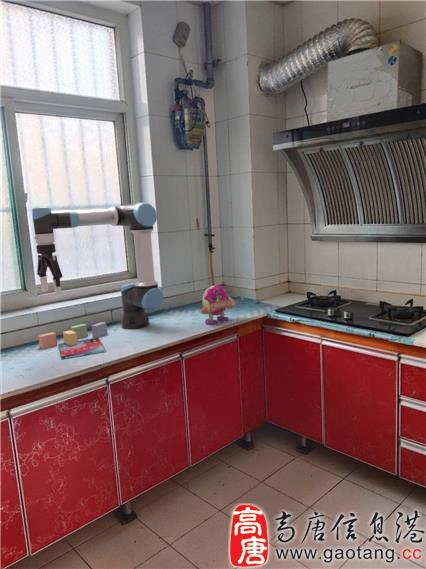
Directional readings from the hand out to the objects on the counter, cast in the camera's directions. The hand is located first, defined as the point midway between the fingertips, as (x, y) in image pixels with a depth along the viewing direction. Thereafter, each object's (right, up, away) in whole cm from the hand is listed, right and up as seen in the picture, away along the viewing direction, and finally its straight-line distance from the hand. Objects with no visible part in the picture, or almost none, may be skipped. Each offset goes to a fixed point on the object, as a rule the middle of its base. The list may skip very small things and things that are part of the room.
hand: (51, 292), depth 190 cm
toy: (+73, -17, +44) cm, 87 cm away
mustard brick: (+2, -25, +19) cm, 32 cm away
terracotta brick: (-8, -26, +18) cm, 32 cm away
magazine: (+9, -26, +12) cm, 30 cm away
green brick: (+3, -23, +31) cm, 38 cm away
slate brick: (+13, -22, +32) cm, 41 cm away
